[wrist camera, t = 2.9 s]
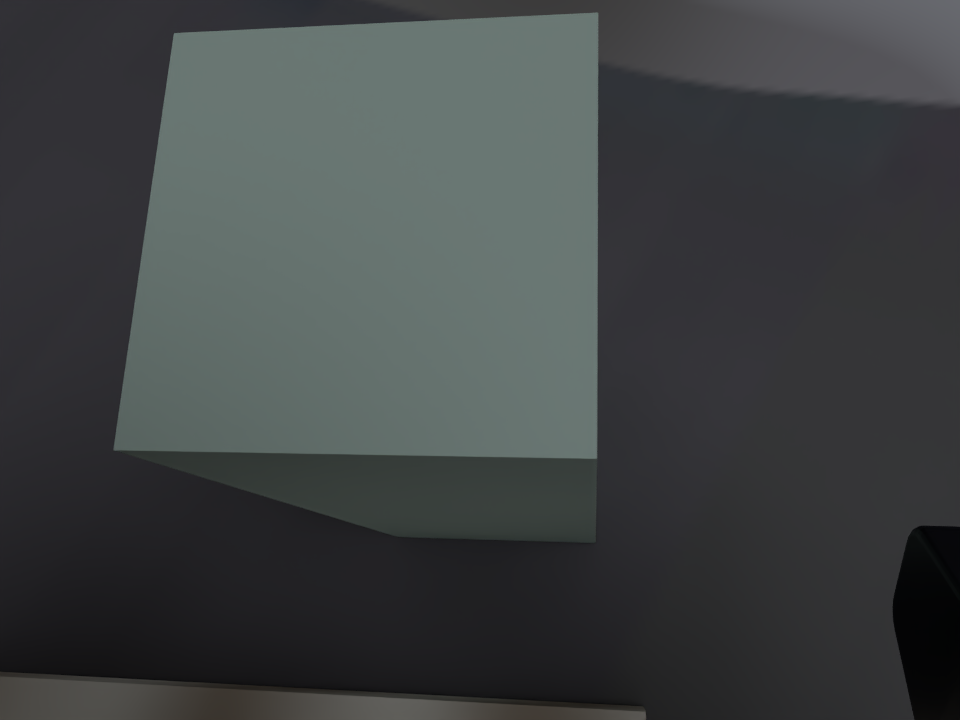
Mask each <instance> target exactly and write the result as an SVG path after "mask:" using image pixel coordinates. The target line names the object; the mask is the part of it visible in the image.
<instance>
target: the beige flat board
mask: <svg viewBox="0 0 960 720" xmlns="http://www.w3.org/2000/svg"><path fill="white" fill-rule="evenodd" d="M0 720H646V711H645V709H644V706H627V705H608V704H590V703H571V702H553V701H534V700H515V699H497V698H478V697H460V696H441V695H423V694H404V693H385V692H367V691H348V690H330V689H311V688H293V687H274V686H255V685H237V684H218V683H200V682H181V681H163V680H144V679H125V678H107V677H88V676H70V675H51V674H33V673H14V672H0Z"/></svg>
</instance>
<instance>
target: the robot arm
mask: <svg viewBox="0 0 960 720" xmlns="http://www.w3.org/2000/svg"><path fill="white" fill-rule="evenodd" d="M893 622H894V628H895V633H896V638H897V642H898V647H899V651H900V656H901V660H902V665H903V670H904V674H905V679H906V683H907V688H908V692H909V697H910V702H911V706H912V711H913V715H914V720H960V527H953V526H919V527H917V528H915V529H913V530H912V532H911V533H910V535H909V537H908V540H907V543H906V547H905V552H904V556H903V560H902V564H901V568H900V572H899V577H898V581H897V585H896V589H895V593H894V598H893Z"/></svg>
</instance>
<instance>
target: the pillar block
mask: <svg viewBox="0 0 960 720" xmlns="http://www.w3.org/2000/svg"><path fill="white" fill-rule="evenodd" d="M597 268H598V13H585V14H584V13H583V14H563V15H541V16H522V17H502V18H501V17H500V18H479V19H461V20H438V21H417V22H397V23H376V24H355V25H335V26H314V27H293V28H273V29H252V30H231V31H211V32H190V33H174V37H173V44H172V51H171V58H170V65H169V72H168V78H167V85H166V92H165V99H164V106H163V113H162V120H161V127H160V133H159V140H158V147H157V154H156V161H155V168H154V175H153V182H152V188H151V195H150V202H149V209H148V216H147V223H146V230H145V237H144V243H143V250H142V257H141V264H140V271H139V278H138V285H137V291H136V298H135V305H134V312H133V319H132V326H131V333H130V340H129V346H128V353H127V360H126V367H125V374H124V381H123V388H122V395H121V401H120V408H119V415H118V422H117V429H116V436H115V443H114V451H117V452H121V453H124V454H127V455H131V456H134V457H137V458H140V459H144V460H147V461H150V462H153V463H157V464H160V465H163V466H167V467H170V468H173V469H176V470H180V471H183V472H186V473H189V474H193V475H196V476H199V477H203V478H206V479H209V480H212V481H216V482H219V483H222V484H226V485H229V486H232V487H235V488H239V489H242V490H245V491H248V492H252V493H255V494H258V495H262V496H265V497H268V498H271V499H275V500H278V501H281V502H284V503H288V504H291V505H294V506H298V507H301V508H304V509H307V510H311V511H314V512H317V513H320V514H324V515H327V516H330V517H334V518H337V519H340V520H343V521H347V522H350V523H353V524H356V525H360V526H363V527H366V528H370V529H373V530H376V531H379V532H383V533H386V534H389V535H392V536H396V537H412V538H445V539H478V540H512V541H545V542H578V543H596V491H597Z"/></svg>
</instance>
